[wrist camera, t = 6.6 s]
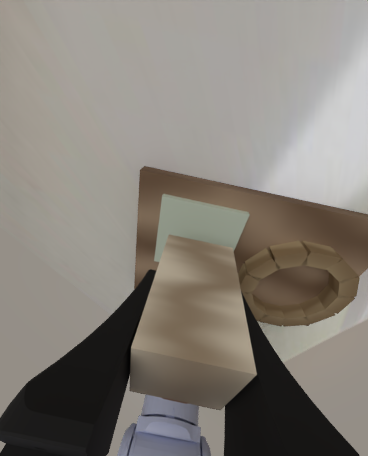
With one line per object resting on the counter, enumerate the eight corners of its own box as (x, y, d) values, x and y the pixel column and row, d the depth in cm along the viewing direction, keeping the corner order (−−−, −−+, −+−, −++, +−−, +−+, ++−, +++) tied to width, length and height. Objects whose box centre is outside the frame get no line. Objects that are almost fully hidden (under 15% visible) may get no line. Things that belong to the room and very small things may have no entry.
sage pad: (222, 272, 18) (223, 275, 18) (155, 257, 18) (154, 261, 18) (248, 212, 14) (249, 214, 14) (163, 193, 14) (162, 196, 14)
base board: (303, 316, 22) (314, 339, 20) (137, 280, 22) (129, 299, 20) (395, 220, 15) (429, 239, 12) (144, 166, 15) (133, 175, 12)
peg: (232, 247, 12) (257, 374, 6) (214, 290, 14) (219, 410, 9) (168, 234, 12) (131, 347, 6) (161, 279, 14) (129, 391, 9)
